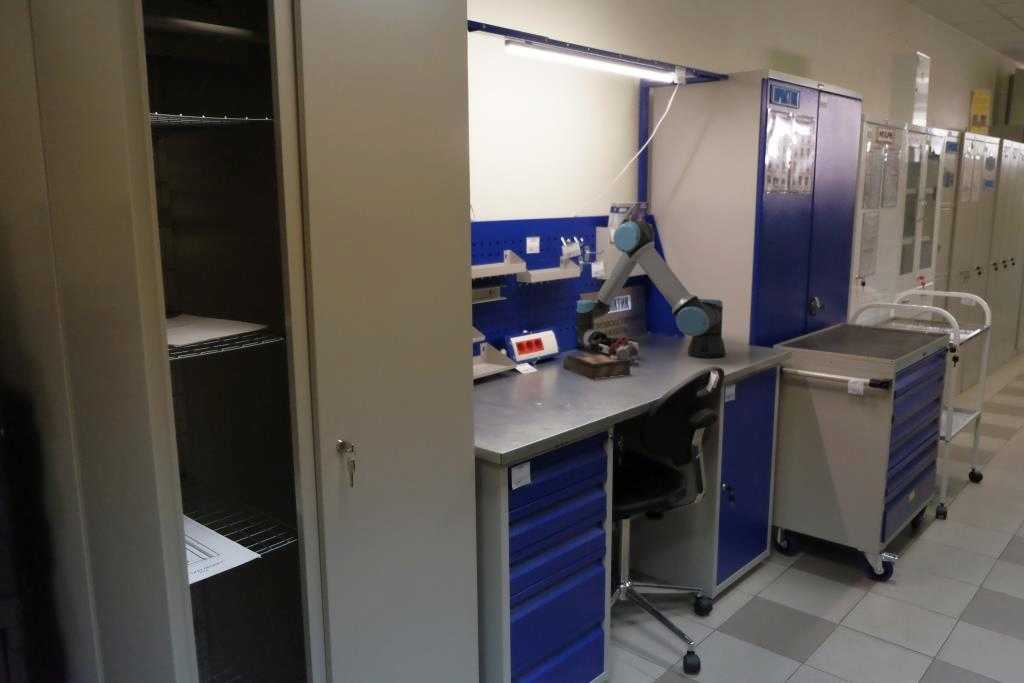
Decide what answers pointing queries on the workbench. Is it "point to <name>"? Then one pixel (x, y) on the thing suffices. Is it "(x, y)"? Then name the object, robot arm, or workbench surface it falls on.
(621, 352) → the brake caliper
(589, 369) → the dock
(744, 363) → the workbench surface
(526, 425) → the workbench surface
